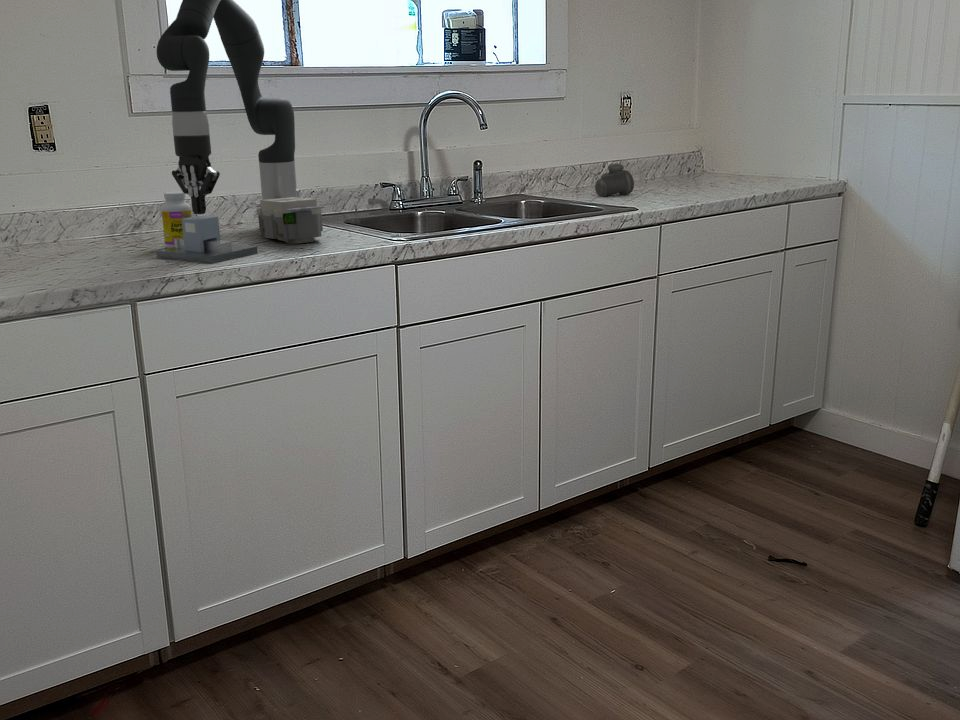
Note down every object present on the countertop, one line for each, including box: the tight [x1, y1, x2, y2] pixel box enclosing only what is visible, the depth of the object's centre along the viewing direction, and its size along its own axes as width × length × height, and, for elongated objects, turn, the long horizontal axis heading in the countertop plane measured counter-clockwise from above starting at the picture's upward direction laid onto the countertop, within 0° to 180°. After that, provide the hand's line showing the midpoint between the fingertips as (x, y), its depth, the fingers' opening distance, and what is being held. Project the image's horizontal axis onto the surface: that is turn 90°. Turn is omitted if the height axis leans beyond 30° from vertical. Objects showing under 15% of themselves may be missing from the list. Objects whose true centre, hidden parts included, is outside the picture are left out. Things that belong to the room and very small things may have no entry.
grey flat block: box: [155, 237, 258, 264], centre depth 207 cm, size 14×17×4 cm
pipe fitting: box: [594, 163, 635, 198], centre depth 301 cm, size 12×8×10 cm
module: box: [182, 215, 221, 252], centre depth 205 cm, size 6×5×7 cm
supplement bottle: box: [160, 191, 193, 249], centre depth 217 cm, size 7×7×13 cm
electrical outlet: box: [254, 197, 325, 244], centre depth 226 cm, size 12×28×10 cm, turn 30°
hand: (199, 213), depth 204 cm, fingers closed
